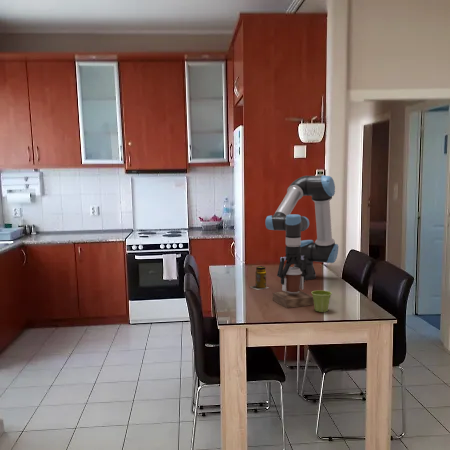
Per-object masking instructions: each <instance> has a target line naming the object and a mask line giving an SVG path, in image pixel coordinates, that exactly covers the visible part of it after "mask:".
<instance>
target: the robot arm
mask: <svg viewBox="0 0 450 450" xmlns="http://www.w3.org/2000/svg"><path fill="white" fill-rule="evenodd" d="M335 193H336V185H335V181H334V179H333V177H332V176H330V175H324V174H322V175H303V176H301V177H300V176H299V178H297V179H295V180H294V181H292V183H290V184H289V186H288V187H287V189H286V194H285V196H284V197H283V200H281V203H280V204H279V206H278V207H277V209H276V210H275V212H274V214H273V215H267V216H266V218H265V228H266V229H267V230H271V231H283V232H285V255H284V256H283V257H282V256H280V257H279V265H278V270H277V275H276V277H278V278H280V285H282V286H281V287H282V288H281V290H282V292H283V291H286V278H285V276H286V273H287V271H288V269H289V267H292V266H291V265H293V267H298V268H300V270H301V271H302V274H301V278H300V289H299V290H301V291H302V290H304V284H305V282H306V281H308V280H314V279H316V278H317V274H316V271H315V270H316V269H315V266H314V263H323V264H325V263H326V264H333V263H335V262H336V260H337V258H338V254H339V244H337V243H336V241H335V239H334V238H333V235H332V218H331V204H330V201H331V200H332V199H333V197H334V196H335ZM305 196H308V197H311V200H312V201H313V202H314V210H315V223H316V224H315V225H316V226H315V227H316V239H315V241H314V240H313V239H304V240H302V232H305V231H306V230H308V228H309V226H310V220H309V218H308V217H306V216H305V215H304V216H303V215H302V216H301V215H300V214H298V213H297V214H294V213H293V214H292V211H293V210H294V208H295V207H296V205H297V203H298V202H299V200H301V199H302V198H303V197H305Z"/></svg>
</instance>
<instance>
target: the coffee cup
mask: <svg viewBox="0 0 450 450" xmlns="http://www.w3.org/2000/svg"><path fill="white" fill-rule="evenodd" d="M301 274H302V271H301V270H300V268H298V267H294V266H290V267H289V269H288V271H287V273H286V276H285V278H286V292H288V293H299V290H301V289H300V278H301Z"/></svg>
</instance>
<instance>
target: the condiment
mask: <svg viewBox="0 0 450 450" xmlns="http://www.w3.org/2000/svg"><path fill="white" fill-rule="evenodd" d="M250 288H251V289H254V290H257V291H259V290H263V289H264V290H266V289H269V288H270V287H268V286H267V271H266V266H264V265H257V266H256V270H255V285H254V286H250Z"/></svg>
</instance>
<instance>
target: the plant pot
mask: <svg viewBox="0 0 450 450" xmlns="http://www.w3.org/2000/svg"><path fill="white" fill-rule="evenodd" d="M331 295H332V292H331V291H328V290H322V289H321V290H318V289H317V290H313V291H311V296H313V300H314V305H313V306H314V311H315V312H318V313H326V312H328V311H329V307H330V306H329V305H330V300H331V299H330V298H331Z"/></svg>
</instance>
